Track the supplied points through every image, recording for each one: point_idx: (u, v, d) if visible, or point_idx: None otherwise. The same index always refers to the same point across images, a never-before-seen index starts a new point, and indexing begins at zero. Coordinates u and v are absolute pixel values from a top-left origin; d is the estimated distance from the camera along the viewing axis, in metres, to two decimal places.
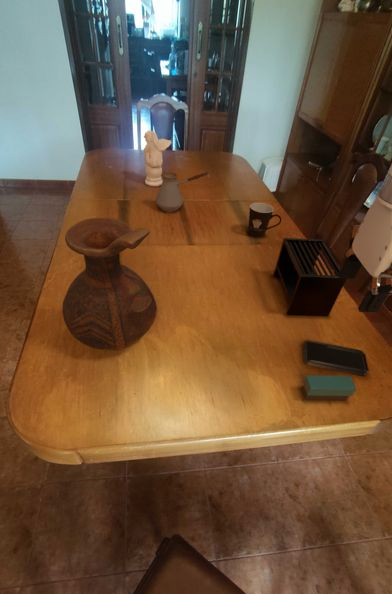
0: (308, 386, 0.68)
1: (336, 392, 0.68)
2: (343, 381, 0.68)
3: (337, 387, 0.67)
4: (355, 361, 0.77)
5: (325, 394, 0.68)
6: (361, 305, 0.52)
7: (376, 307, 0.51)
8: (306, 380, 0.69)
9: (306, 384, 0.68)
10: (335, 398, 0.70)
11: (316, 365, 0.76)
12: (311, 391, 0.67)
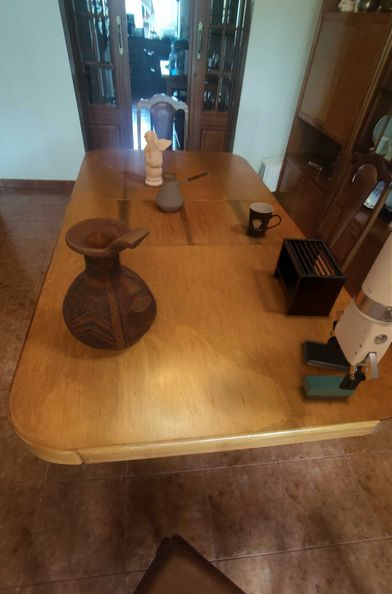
0: (308, 386, 0.68)
1: (336, 392, 0.68)
2: None
3: (337, 387, 0.67)
4: None
5: (325, 394, 0.68)
6: (341, 384, 0.60)
7: (354, 387, 0.59)
8: (306, 380, 0.69)
9: (306, 384, 0.68)
10: (335, 398, 0.70)
11: (316, 365, 0.76)
12: (311, 391, 0.67)
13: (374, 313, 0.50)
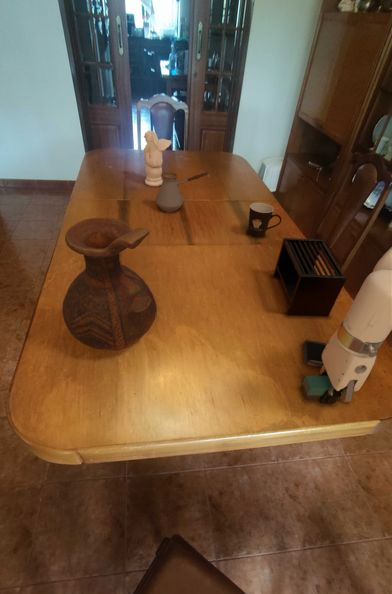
0: (308, 386, 0.68)
1: None
2: None
3: None
4: None
5: None
6: (322, 399, 0.68)
7: (333, 402, 0.68)
8: (306, 380, 0.69)
9: (306, 384, 0.68)
10: None
11: (316, 365, 0.76)
12: (311, 391, 0.67)
13: (354, 347, 0.56)
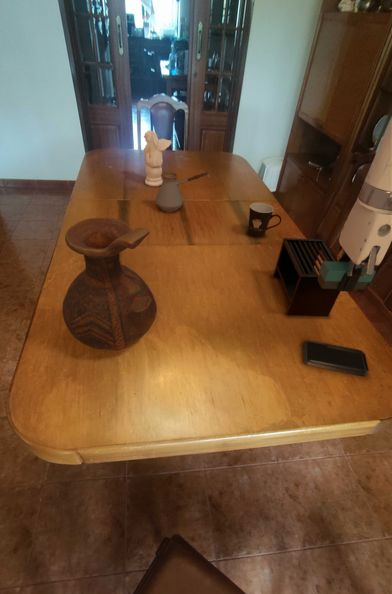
0: (325, 270, 0.64)
1: None
2: None
3: None
4: (355, 361, 0.77)
5: None
6: (340, 285, 0.65)
7: (351, 286, 0.65)
8: (323, 266, 0.65)
9: (323, 269, 0.65)
10: None
11: (316, 365, 0.76)
12: (329, 275, 0.64)
13: (378, 202, 0.53)
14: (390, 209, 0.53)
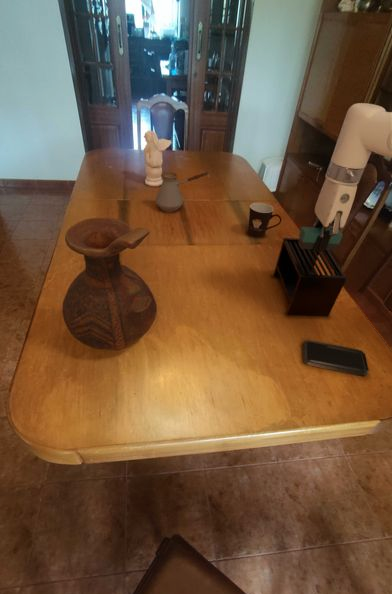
0: (303, 233, 0.82)
1: None
2: None
3: None
4: (355, 361, 0.77)
5: None
6: (314, 246, 0.83)
7: (323, 247, 0.82)
8: (301, 230, 0.83)
9: (301, 233, 0.83)
10: None
11: (316, 365, 0.76)
12: (305, 237, 0.81)
13: (339, 176, 0.70)
14: (348, 182, 0.70)
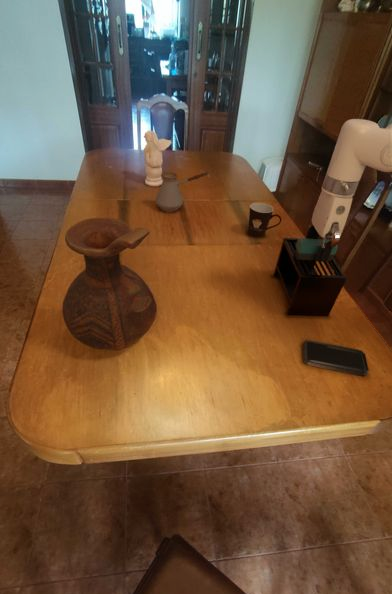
0: (299, 245, 0.84)
1: None
2: None
3: None
4: (355, 361, 0.77)
5: (313, 252, 0.84)
6: (316, 256, 0.82)
7: (325, 257, 0.81)
8: (298, 242, 0.85)
9: (298, 244, 0.85)
10: None
11: (316, 365, 0.76)
12: (302, 248, 0.83)
13: (334, 189, 0.72)
14: (344, 194, 0.72)
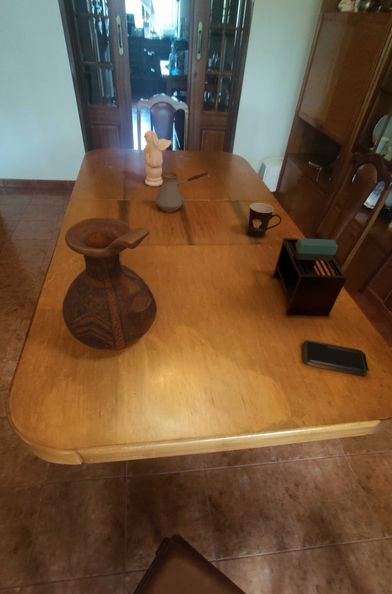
0: (299, 245, 0.84)
1: (322, 250, 0.84)
2: (327, 242, 0.85)
3: (322, 245, 0.83)
4: (355, 361, 0.77)
5: (313, 252, 0.84)
6: None
7: None
8: (298, 242, 0.85)
9: (298, 244, 0.85)
10: (321, 258, 0.86)
11: (316, 365, 0.76)
12: (302, 248, 0.83)
13: None
14: None
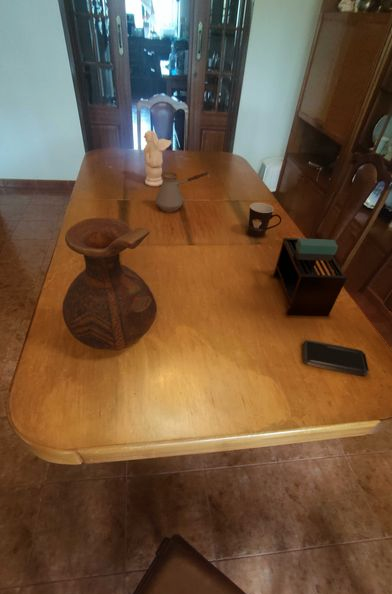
0: (299, 245, 0.84)
1: (322, 250, 0.84)
2: (327, 242, 0.85)
3: (322, 245, 0.83)
4: (355, 361, 0.77)
5: (313, 252, 0.84)
6: None
7: None
8: (298, 242, 0.85)
9: (298, 244, 0.85)
10: (321, 258, 0.86)
11: (316, 365, 0.76)
12: (302, 248, 0.83)
13: None
14: None
